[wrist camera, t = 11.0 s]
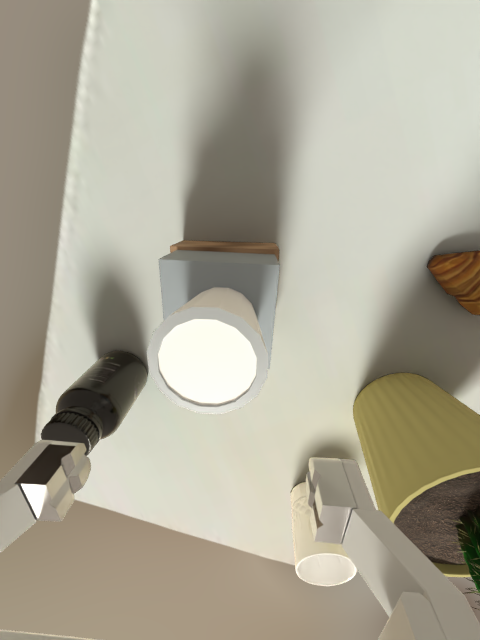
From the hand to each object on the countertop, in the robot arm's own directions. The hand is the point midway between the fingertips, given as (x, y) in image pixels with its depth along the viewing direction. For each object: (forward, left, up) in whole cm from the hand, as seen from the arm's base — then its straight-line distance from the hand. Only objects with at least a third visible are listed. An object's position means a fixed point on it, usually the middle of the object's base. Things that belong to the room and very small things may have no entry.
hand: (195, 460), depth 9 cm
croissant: (-27, -2, -23) cm, 35 cm away
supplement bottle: (+15, +12, -23) cm, 30 cm away
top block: (+1, 0, -18) cm, 18 cm away
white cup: (-13, +35, -23) cm, 44 cm away
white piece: (+1, 0, -13) cm, 13 cm away
